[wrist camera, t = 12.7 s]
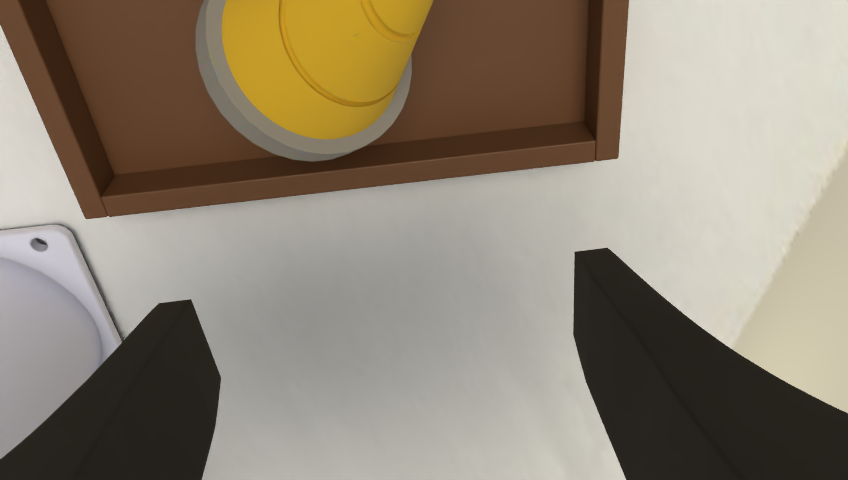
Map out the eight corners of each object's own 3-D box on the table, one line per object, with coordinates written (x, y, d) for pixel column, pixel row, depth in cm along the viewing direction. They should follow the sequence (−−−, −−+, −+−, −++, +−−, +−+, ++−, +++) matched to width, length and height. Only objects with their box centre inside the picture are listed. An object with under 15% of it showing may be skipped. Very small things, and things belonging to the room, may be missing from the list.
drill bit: (161, -14, 19) (294, -282, 10) (341, 8, 22) (561, -190, 13) (178, 182, 19) (329, 71, 10) (358, 178, 21) (594, 88, 13)
